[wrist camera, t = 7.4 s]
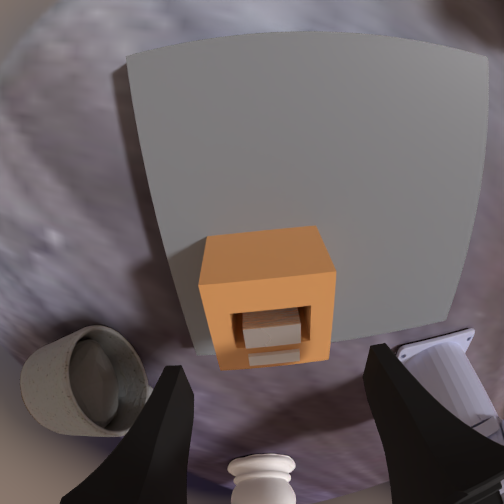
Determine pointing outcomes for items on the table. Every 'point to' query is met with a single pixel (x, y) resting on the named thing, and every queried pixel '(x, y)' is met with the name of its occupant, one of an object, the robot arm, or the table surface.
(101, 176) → the table surface
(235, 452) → the table surface
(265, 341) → the grey cubby insert
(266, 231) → the orange cubby crate
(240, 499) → the cherub figurine
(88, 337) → the ceramic mug
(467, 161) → the board
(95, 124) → the table surface
